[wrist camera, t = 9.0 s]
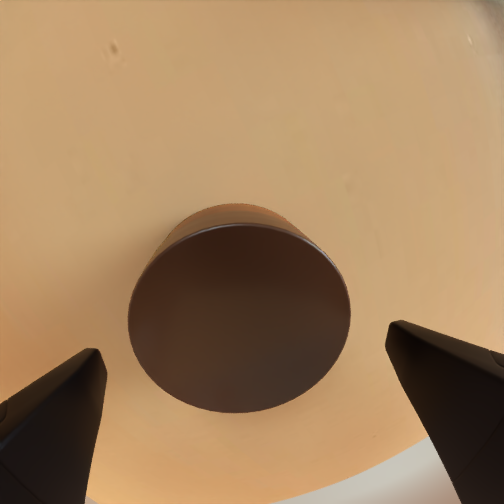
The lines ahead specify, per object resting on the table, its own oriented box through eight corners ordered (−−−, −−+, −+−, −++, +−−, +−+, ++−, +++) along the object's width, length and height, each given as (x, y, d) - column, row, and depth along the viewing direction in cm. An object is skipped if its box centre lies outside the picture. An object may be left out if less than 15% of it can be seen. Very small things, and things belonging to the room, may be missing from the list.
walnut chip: (215, 401, 12) (216, 435, 10) (103, 282, 10) (83, 308, 8) (356, 322, 11) (378, 349, 10) (270, 168, 9) (284, 171, 7)
